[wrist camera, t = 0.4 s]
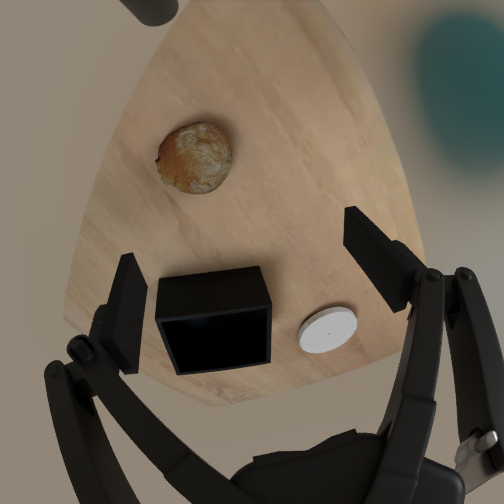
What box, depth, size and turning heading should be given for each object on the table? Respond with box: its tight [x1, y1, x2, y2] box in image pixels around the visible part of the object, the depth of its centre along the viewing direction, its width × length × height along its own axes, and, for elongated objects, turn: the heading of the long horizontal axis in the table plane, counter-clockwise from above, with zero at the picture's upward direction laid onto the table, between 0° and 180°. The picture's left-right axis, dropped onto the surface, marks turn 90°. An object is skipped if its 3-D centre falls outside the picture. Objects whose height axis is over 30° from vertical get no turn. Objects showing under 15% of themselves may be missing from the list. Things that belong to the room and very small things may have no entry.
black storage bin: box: [155, 266, 272, 375], centre depth 50 cm, size 16×18×10 cm
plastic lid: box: [298, 307, 357, 353], centre depth 63 cm, size 14×14×2 cm
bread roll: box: [155, 122, 232, 194], centre depth 36 cm, size 10×10×8 cm
